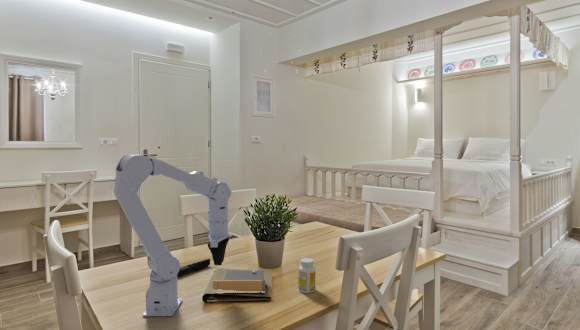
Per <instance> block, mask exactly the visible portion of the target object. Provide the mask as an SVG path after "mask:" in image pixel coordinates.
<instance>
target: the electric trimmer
mask: <svg viewBox="0 0 580 330" xmlns="http://www.w3.org/2000/svg"><path fill="white" fill-rule="evenodd" d="M210 265H211V258H207V259H204V260H200V261H196V262H193V263H191V264H187V265H185V266H180V270H179V272H178V274H177V279H179V277H181V276H183V275H186V274H189V273H193V272H197V271H200V270H202V269H204V268H207V267H209V266H210Z"/></svg>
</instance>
